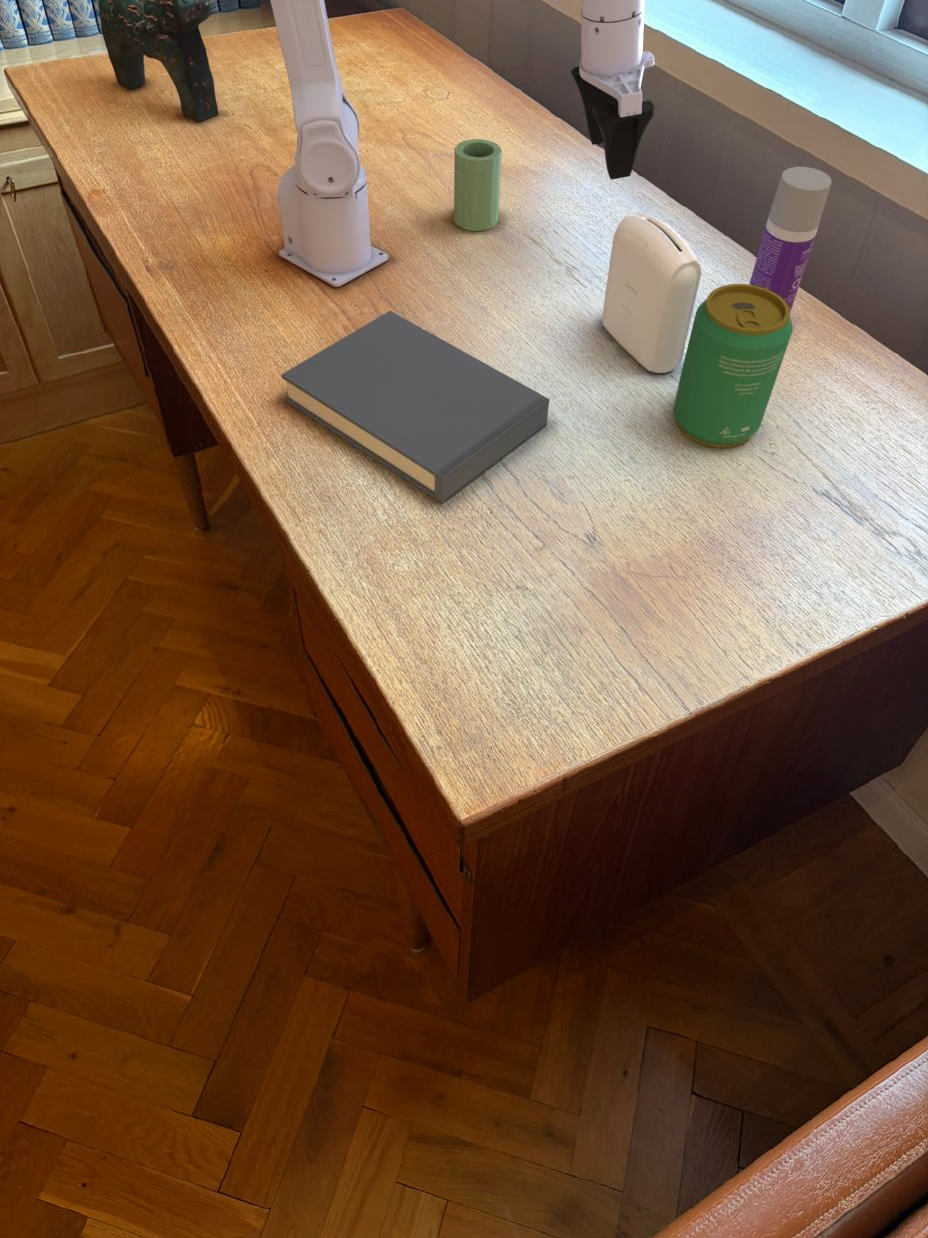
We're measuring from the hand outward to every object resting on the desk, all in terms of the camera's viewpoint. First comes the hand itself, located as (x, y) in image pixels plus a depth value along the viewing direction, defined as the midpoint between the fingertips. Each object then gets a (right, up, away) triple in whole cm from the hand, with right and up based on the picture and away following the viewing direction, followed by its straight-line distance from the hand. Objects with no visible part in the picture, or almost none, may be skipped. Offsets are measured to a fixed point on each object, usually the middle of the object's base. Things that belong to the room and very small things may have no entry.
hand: (610, 158), depth 96 cm
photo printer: (+3, -20, -2) cm, 20 cm away
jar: (-14, -1, +12) cm, 18 cm away
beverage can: (+8, -29, -10) cm, 32 cm away
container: (+16, -17, 0) cm, 23 cm away
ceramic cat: (-55, +22, +30) cm, 67 cm away
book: (-20, -28, -10) cm, 36 cm away
